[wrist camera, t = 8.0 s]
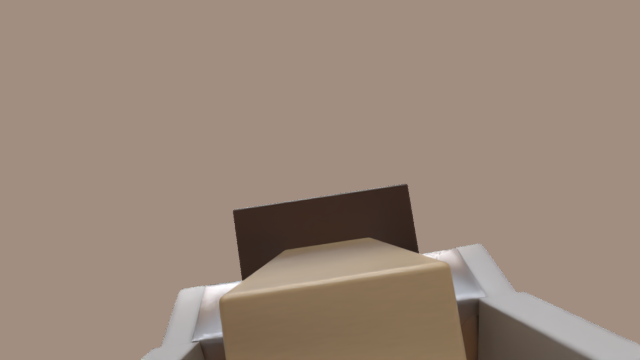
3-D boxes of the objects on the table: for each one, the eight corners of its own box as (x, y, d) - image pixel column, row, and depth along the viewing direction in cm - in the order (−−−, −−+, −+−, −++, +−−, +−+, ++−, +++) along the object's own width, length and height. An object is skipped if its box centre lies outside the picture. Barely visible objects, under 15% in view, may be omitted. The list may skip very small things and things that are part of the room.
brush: (607, 439, 6) (545, 120, 6) (118, 515, 6) (83, 188, 6) (392, 275, 24) (379, 196, 24) (273, 293, 24) (262, 213, 24)
